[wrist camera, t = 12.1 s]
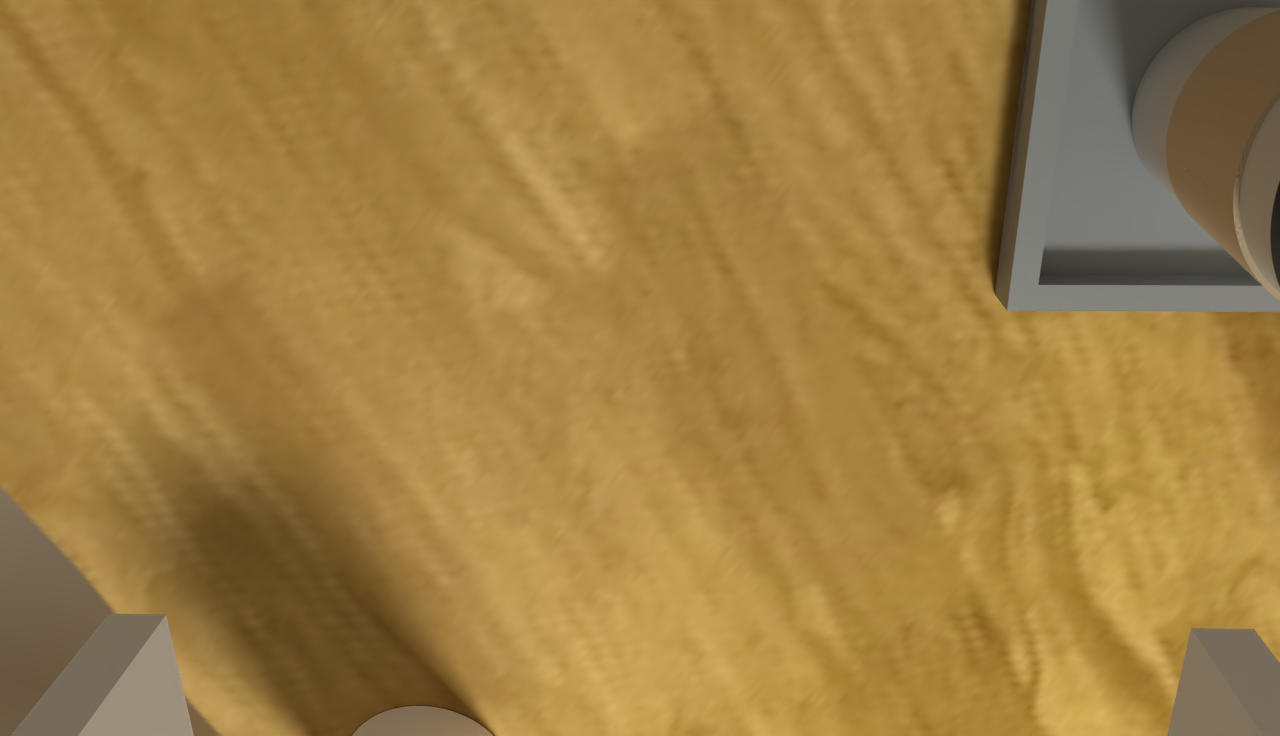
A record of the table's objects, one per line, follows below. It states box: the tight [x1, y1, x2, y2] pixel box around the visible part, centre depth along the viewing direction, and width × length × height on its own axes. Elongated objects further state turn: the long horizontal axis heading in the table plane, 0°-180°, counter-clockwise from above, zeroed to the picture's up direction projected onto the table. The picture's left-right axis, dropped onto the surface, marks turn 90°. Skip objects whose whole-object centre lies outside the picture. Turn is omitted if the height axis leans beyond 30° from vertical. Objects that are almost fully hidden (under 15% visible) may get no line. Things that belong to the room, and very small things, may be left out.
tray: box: [995, 0, 1280, 312], centre depth 38 cm, size 14×14×2 cm
